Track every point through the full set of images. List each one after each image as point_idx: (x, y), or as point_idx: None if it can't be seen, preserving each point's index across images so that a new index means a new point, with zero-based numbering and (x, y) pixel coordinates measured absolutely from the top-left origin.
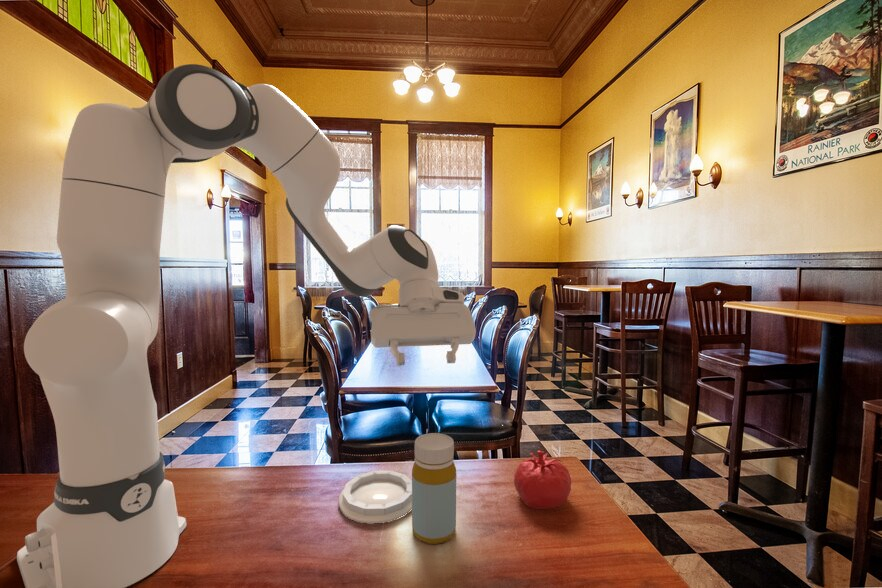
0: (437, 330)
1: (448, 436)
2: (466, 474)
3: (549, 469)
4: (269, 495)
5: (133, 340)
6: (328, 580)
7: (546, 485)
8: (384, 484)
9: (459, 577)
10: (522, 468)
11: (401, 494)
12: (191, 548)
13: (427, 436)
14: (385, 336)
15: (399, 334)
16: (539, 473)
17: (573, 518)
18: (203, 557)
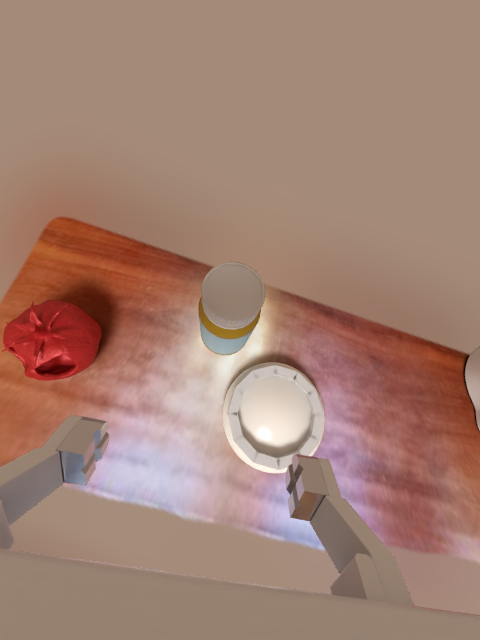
0: (35, 629)
1: (204, 297)
2: (131, 443)
3: (43, 315)
4: (410, 471)
5: None
6: (326, 305)
7: (70, 304)
8: (264, 437)
9: None
10: (75, 342)
11: (246, 403)
12: (452, 385)
13: (238, 312)
14: (471, 624)
15: (379, 633)
16: (63, 316)
17: None
18: (436, 368)
